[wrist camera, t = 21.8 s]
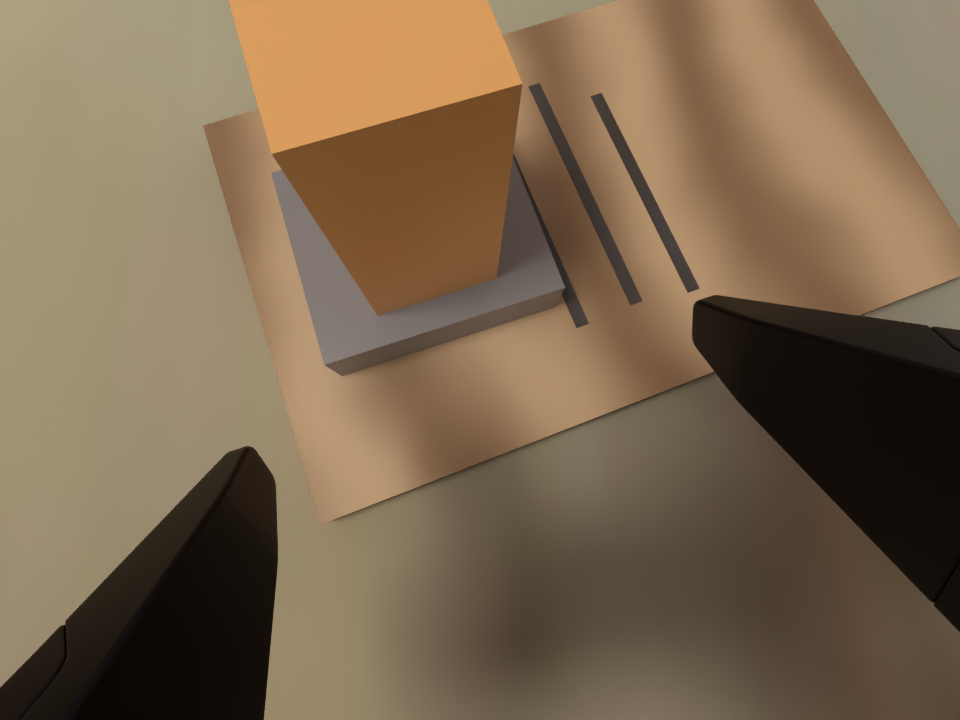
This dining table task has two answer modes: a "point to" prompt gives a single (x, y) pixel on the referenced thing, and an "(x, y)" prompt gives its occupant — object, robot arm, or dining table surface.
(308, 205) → the sanding block
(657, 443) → the dining table surface
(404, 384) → the board
